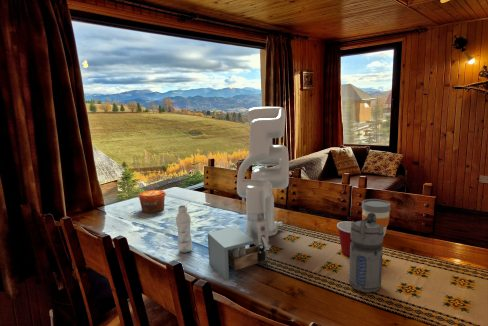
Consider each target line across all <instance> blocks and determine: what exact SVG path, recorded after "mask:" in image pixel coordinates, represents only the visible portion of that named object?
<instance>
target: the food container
mask: <svg viewBox="0 0 488 326" xmlns="http://www.w3.org/2000/svg"><path fill="white" fill-rule="evenodd" d="M166 195H167V194H166V192H165V191H164V190H161V189H151V190H150V189H149V190H145V191H141V192H140V193H139V194H138V195H137V198H138V199H139V203H140V206H141V208H140V209H141V211H142V213H145V214H155V213H159V212H162V211H163V210H164V209H165V198H166Z"/></svg>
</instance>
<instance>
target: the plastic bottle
mask: <svg viewBox="0 0 488 326" xmlns="http://www.w3.org/2000/svg"><path fill="white" fill-rule="evenodd" d="M177 209H178V210H177V212H178V213H177V214H176V217H175V223H176V224H175V225H176V227H177V250H178V251H179V252H180V253H183V254H186V253H189V252H191V251H192V249H193V241H192V236H191V235H192V234H191V221H192V220H191V219H192V217H191V216H190V214H189V213H188V207H187V205H179V206H177Z"/></svg>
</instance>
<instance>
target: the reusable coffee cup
mask: <svg viewBox="0 0 488 326" xmlns="http://www.w3.org/2000/svg"><path fill="white" fill-rule="evenodd" d="M361 209H362V212H361V217H362V219H363V220H365V218H367V215H368V214H369V213H374V214H375V215H376V223H378V224H380V225H381V226H383V232H384V237H385V236H386V232H387V227H388V225H389V222H390V217H391V216H390V212H391V210H392V209H391V203H390V202H389V201H387V200H383V199H377V198H369V199H364V200H362V203H361ZM366 221H367V220H366Z"/></svg>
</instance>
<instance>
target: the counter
mask: <svg viewBox="0 0 488 326" xmlns="http://www.w3.org/2000/svg"><path fill="white" fill-rule="evenodd" d="M250 244H254V240H253V239H252V238H250V237H249V236H248V235H246V233H245V232H243V231H241V229H239V228H238V227H236V226H232V227H228V228H223V229H219V230H214V231H209V232H207V245H208V247H207V249H208V262H209V264H210V266H212V268H214V269H215V271H216V272H217V273H218V274H219V275H220V276H221V277H222V278H223V279H224V280H225V281H226V282H227V281H229V280H230V271H229V270H230V269H229V266H230V265H229V264H228V253H231V252H232V249H234V248H238V247H242V246H245V247H246V246H249V245H250Z"/></svg>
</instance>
